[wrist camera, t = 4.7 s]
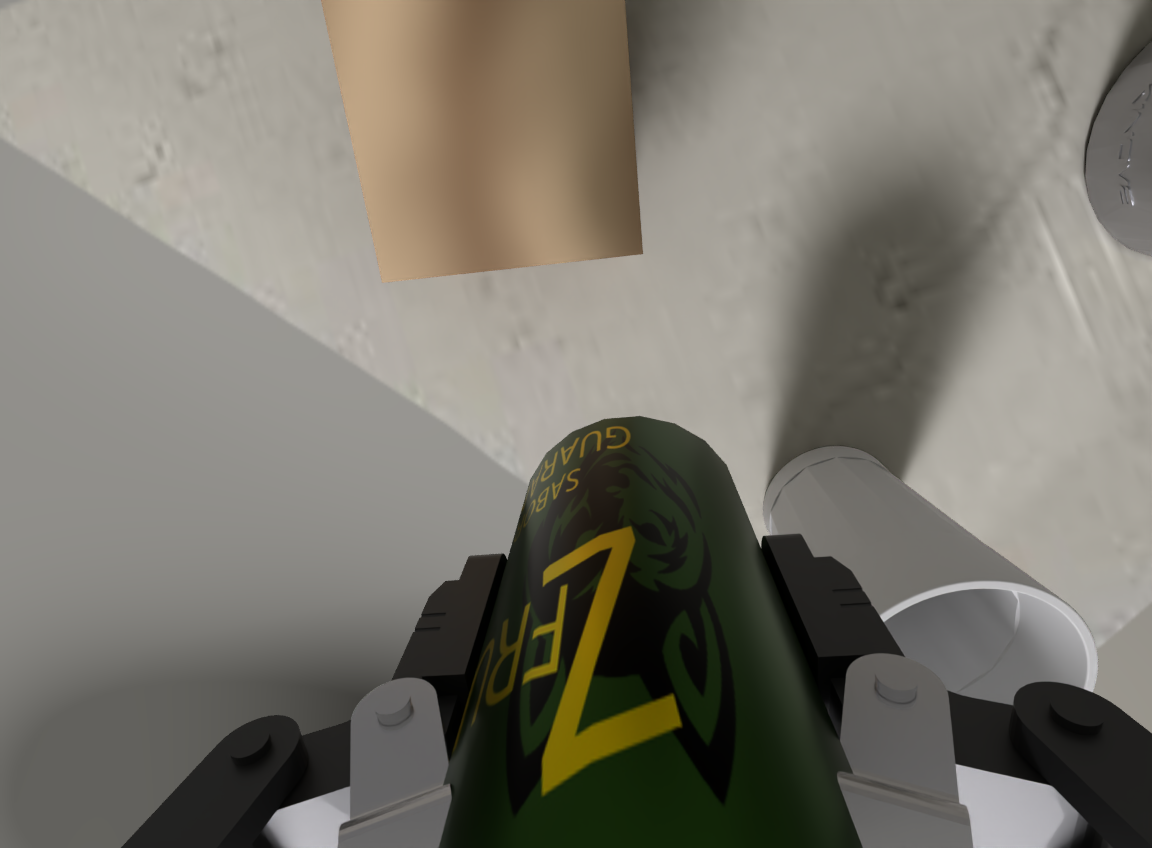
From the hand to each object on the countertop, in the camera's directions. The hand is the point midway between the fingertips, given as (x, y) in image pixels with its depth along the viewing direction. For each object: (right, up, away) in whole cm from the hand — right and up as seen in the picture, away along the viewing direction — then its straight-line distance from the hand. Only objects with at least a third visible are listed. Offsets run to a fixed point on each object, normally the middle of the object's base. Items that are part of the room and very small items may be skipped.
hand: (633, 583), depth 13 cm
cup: (+11, -1, +18) cm, 21 cm away
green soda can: (0, +1, +4) cm, 4 cm away
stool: (-4, +15, +12) cm, 20 cm away
